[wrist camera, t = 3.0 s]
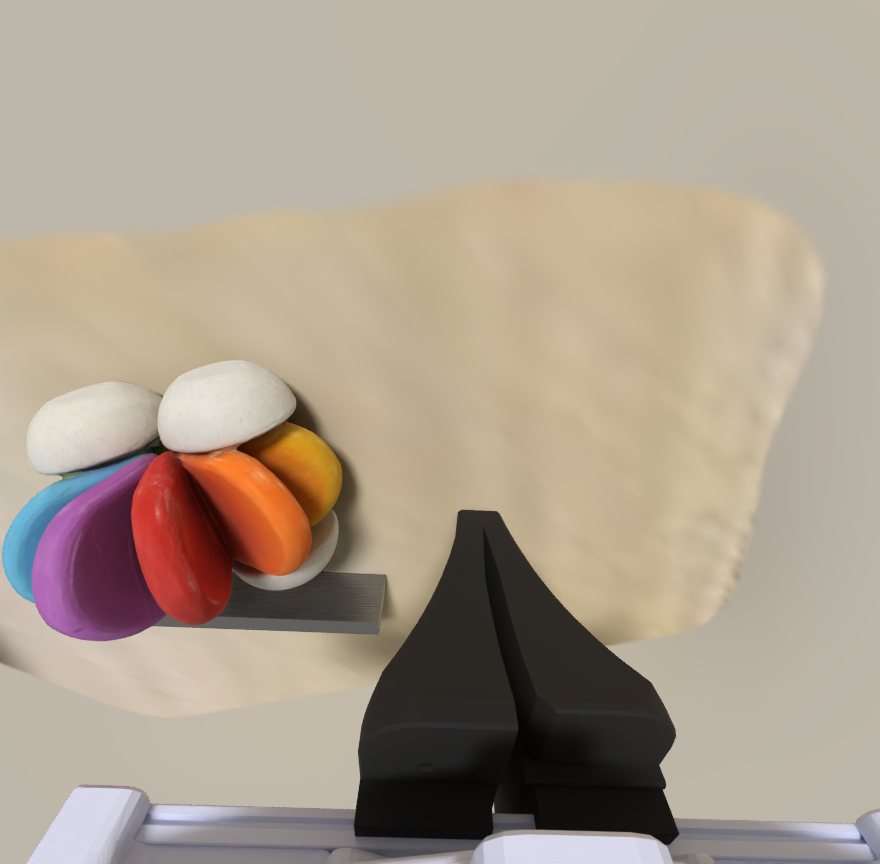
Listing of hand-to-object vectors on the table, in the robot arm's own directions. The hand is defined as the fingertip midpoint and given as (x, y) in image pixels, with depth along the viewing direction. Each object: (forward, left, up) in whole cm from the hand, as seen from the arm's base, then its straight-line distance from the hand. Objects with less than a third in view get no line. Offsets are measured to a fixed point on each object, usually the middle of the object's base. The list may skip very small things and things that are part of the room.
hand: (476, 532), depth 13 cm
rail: (-9, -6, -3) cm, 11 cm away
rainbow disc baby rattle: (-10, 0, -3) cm, 10 cm away
